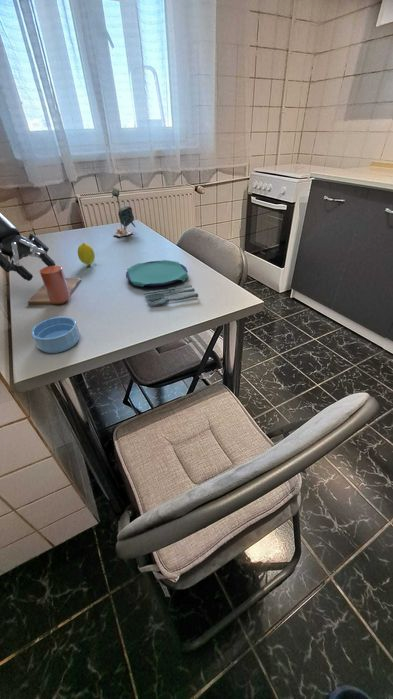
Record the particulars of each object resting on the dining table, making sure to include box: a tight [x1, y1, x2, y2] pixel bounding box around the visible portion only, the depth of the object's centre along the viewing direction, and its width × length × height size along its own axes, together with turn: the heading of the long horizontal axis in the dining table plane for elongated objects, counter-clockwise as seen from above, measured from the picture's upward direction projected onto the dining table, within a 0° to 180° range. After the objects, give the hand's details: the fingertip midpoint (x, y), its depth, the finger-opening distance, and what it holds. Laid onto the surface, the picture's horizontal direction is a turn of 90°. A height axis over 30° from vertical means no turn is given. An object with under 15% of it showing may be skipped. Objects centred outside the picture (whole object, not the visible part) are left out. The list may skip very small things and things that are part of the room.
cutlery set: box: [125, 259, 199, 307], centre depth 92 cm, size 20×30×2 cm, turn 17°
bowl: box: [30, 316, 81, 354], centre depth 67 cm, size 9×10×4 cm
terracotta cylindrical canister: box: [39, 265, 72, 303], centre depth 81 cm, size 6×6×8 cm
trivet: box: [27, 277, 82, 306], centre depth 89 cm, size 16×10×1 cm, turn 0°
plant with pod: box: [111, 186, 136, 237], centre depth 131 cm, size 8×11×20 cm
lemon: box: [77, 242, 96, 266], centre depth 104 cm, size 6×6×8 cm
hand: (42, 272), depth 80 cm, fingers open, 8 cm apart
